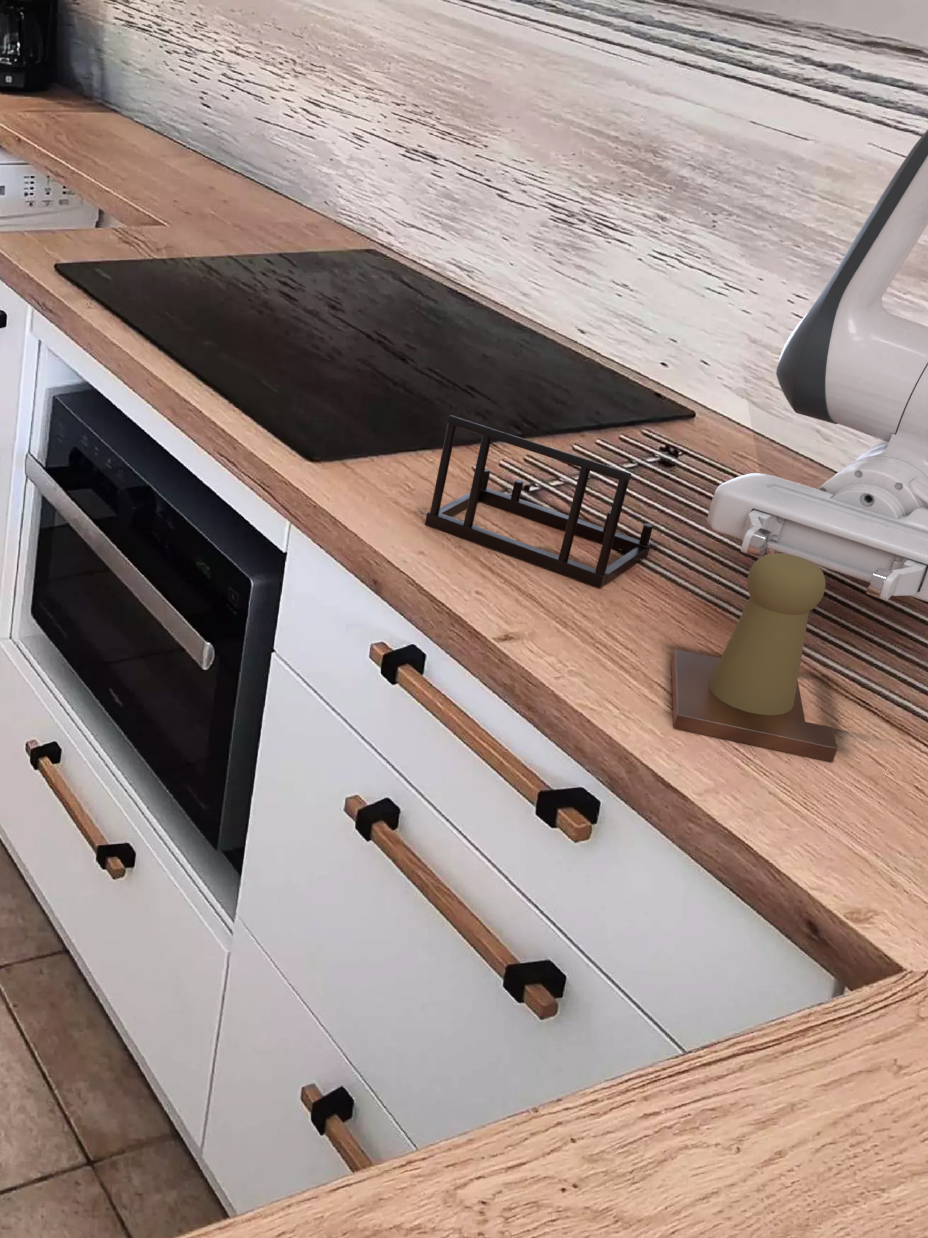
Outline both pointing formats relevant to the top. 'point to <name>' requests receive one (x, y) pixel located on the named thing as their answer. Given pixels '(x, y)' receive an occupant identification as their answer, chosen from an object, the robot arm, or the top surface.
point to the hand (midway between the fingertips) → (813, 566)
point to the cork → (769, 636)
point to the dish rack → (537, 511)
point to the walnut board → (741, 714)
